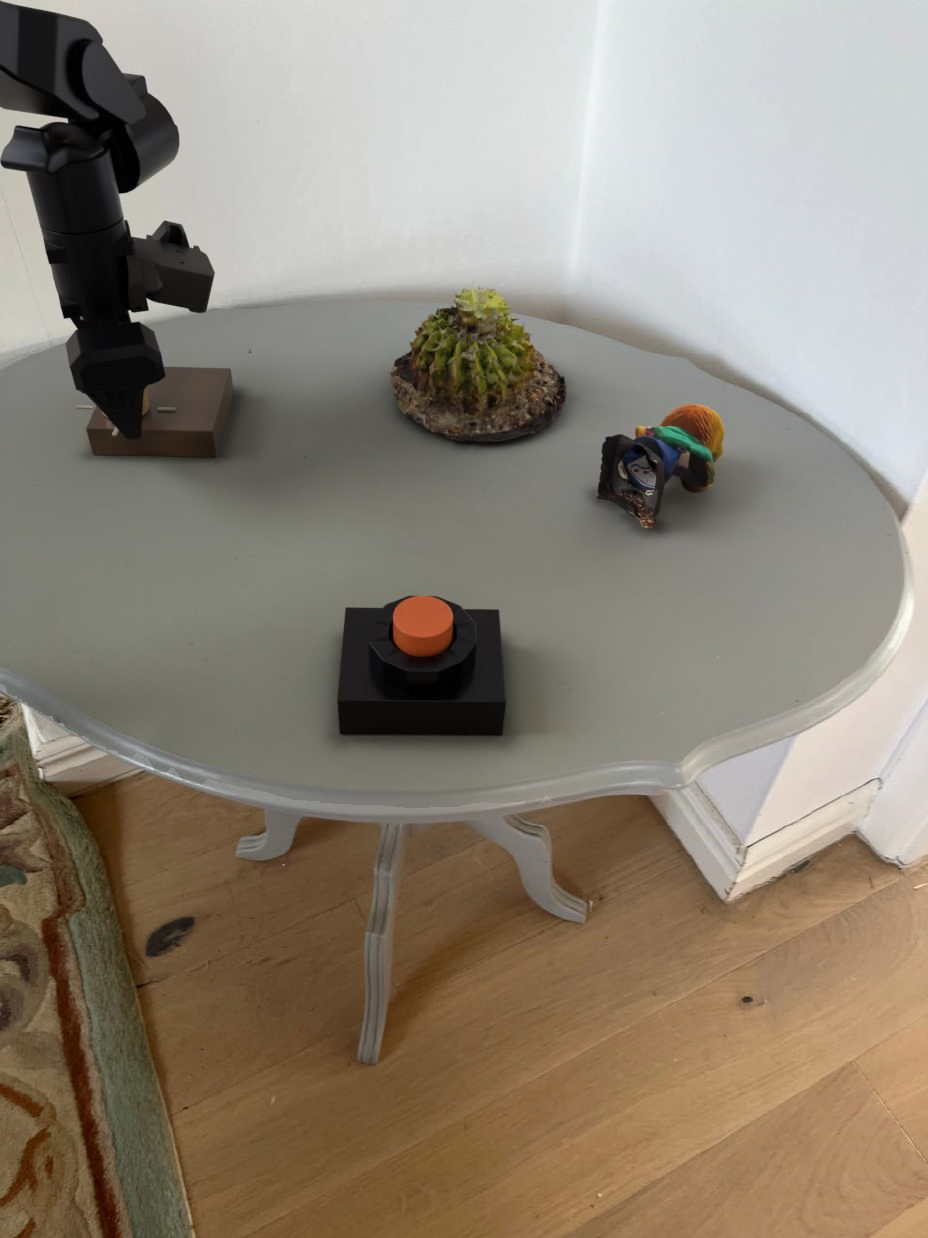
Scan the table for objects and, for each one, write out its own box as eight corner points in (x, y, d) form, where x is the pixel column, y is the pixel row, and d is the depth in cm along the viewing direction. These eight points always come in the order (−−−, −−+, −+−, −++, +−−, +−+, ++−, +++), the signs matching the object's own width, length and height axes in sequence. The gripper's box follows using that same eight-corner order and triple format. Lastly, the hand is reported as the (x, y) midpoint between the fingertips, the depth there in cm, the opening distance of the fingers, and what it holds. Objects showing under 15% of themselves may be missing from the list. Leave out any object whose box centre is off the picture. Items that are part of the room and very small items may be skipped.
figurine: (686, 446, 83) (701, 382, 79) (749, 493, 78) (768, 427, 74) (581, 484, 78) (591, 419, 74) (640, 536, 74) (654, 469, 70)
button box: (339, 734, 59) (335, 679, 55) (347, 641, 64) (344, 586, 61) (502, 736, 59) (508, 681, 56) (496, 643, 65) (501, 588, 61)
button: (392, 657, 57) (392, 636, 56) (393, 615, 60) (393, 594, 59) (452, 658, 57) (453, 637, 56) (451, 616, 60) (452, 595, 59)
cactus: (574, 449, 82) (589, 344, 75) (387, 444, 81) (385, 338, 75) (557, 349, 94) (568, 251, 88) (394, 344, 94) (393, 245, 87)
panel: (70, 461, 78) (62, 433, 76) (103, 389, 85) (97, 362, 84) (214, 464, 78) (209, 436, 76) (234, 393, 86) (230, 366, 84)
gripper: (221, 260, 64) (247, 453, 75) (175, 160, 77) (204, 339, 88) (45, 280, 61) (100, 479, 72) (27, 173, 73) (76, 357, 84)
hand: (126, 407), depth 79 cm, fingers open, 9 cm apart
